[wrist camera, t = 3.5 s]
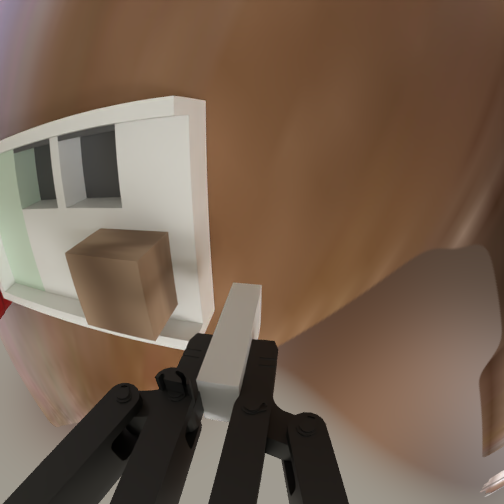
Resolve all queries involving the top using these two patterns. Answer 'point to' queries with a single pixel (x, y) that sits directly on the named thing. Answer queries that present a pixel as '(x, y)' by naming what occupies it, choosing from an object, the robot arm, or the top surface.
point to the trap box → (108, 203)
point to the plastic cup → (3, 304)
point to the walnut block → (125, 280)
